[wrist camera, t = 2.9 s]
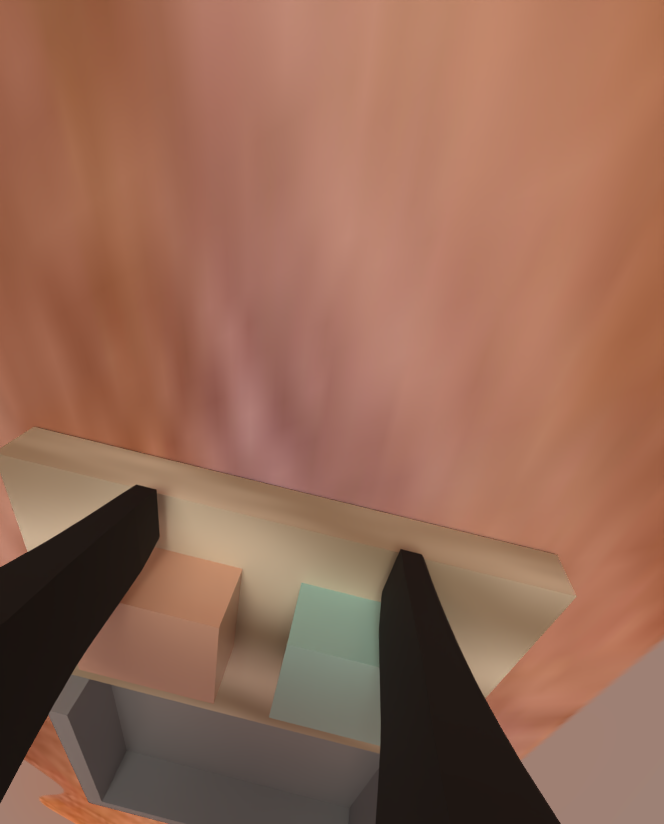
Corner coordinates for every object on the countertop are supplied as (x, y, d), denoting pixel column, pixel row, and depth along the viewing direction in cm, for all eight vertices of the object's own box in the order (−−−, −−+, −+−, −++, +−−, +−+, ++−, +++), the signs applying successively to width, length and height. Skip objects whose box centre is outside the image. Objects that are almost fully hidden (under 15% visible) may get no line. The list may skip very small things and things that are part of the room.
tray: (361, 807, 27) (357, 873, 24) (117, 744, 27) (88, 802, 24) (423, 727, 19) (428, 808, 17) (90, 643, 20) (46, 709, 17)
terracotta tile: (233, 646, 15) (213, 704, 13) (114, 615, 15) (79, 669, 13) (242, 568, 13) (219, 628, 11) (99, 533, 13) (52, 586, 11)
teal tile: (404, 688, 15) (405, 752, 13) (282, 658, 15) (268, 717, 13) (448, 619, 12) (457, 687, 11) (301, 582, 12) (287, 644, 11)
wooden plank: (422, 727, 19) (425, 765, 18) (90, 643, 20) (70, 673, 19) (557, 554, 12) (576, 596, 11) (34, 426, 13) (-7, 452, 11)
